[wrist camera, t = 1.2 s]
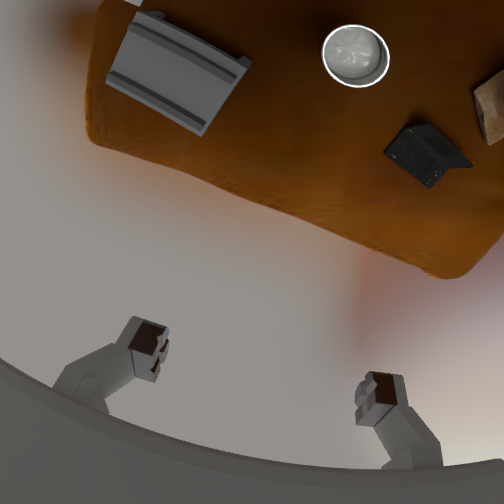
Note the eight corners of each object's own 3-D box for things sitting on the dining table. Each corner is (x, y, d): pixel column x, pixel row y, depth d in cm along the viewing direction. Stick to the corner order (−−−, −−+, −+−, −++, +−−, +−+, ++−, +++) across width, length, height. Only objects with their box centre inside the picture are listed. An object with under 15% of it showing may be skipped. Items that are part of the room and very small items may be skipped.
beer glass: (356, 13, 31) (379, 15, 20) (372, 58, 35) (400, 82, 25) (308, 25, 34) (308, 32, 23) (326, 69, 38) (333, 97, 27)
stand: (156, 8, 34) (131, 12, 29) (254, 61, 39) (244, 71, 34) (125, 72, 42) (99, 86, 36) (212, 121, 47) (198, 141, 41)
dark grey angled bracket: (378, 167, 46) (417, 164, 36) (387, 126, 45) (425, 115, 35) (430, 190, 48) (470, 193, 38) (437, 152, 47) (477, 149, 37)
